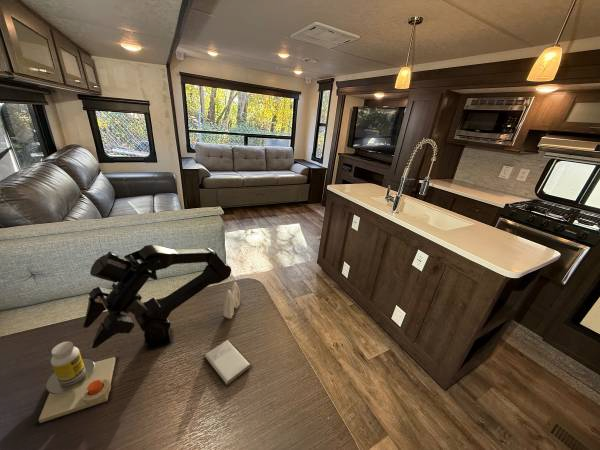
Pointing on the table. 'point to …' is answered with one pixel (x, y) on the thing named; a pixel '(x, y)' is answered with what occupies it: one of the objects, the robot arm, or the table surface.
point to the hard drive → (227, 361)
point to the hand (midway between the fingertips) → (89, 337)
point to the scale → (80, 393)
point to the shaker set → (231, 301)
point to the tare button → (95, 387)
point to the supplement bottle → (67, 362)
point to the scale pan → (62, 388)
